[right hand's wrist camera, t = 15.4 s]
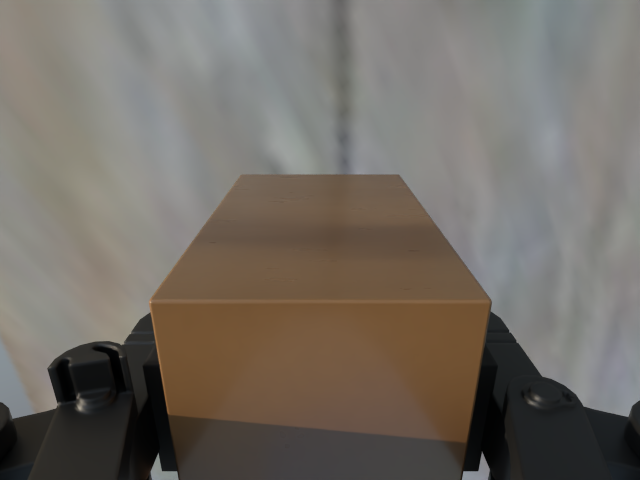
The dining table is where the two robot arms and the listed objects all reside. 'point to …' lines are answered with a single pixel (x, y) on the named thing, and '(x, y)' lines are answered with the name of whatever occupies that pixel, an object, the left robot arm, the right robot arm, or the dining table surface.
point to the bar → (320, 336)
